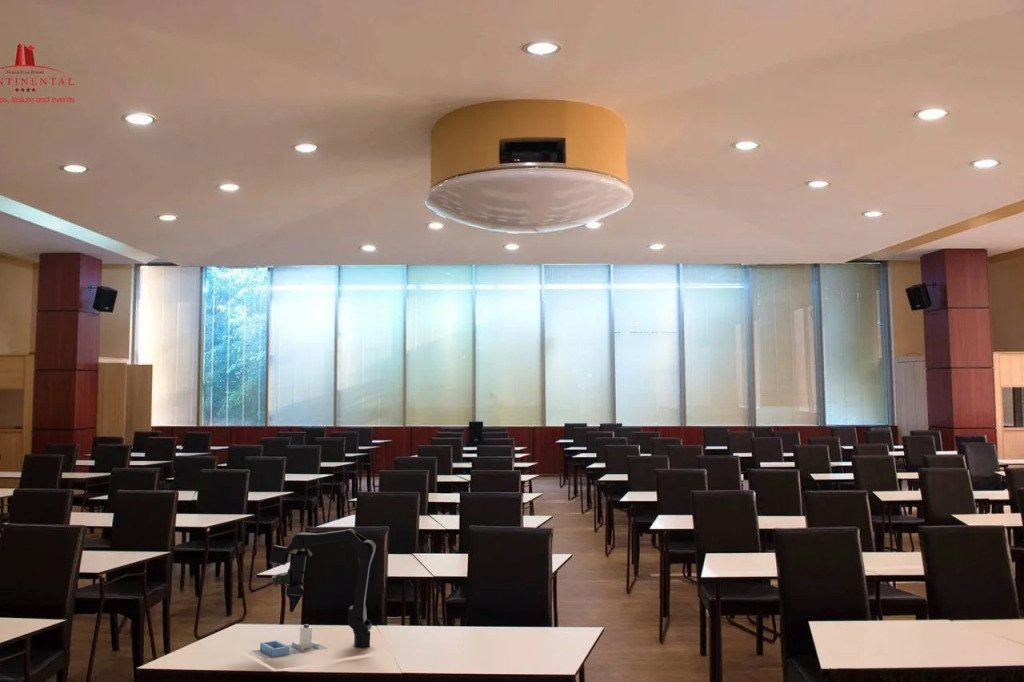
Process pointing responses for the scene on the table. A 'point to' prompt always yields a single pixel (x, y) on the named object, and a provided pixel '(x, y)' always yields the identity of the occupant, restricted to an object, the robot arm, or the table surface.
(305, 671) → the table surface
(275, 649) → the board
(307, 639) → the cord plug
